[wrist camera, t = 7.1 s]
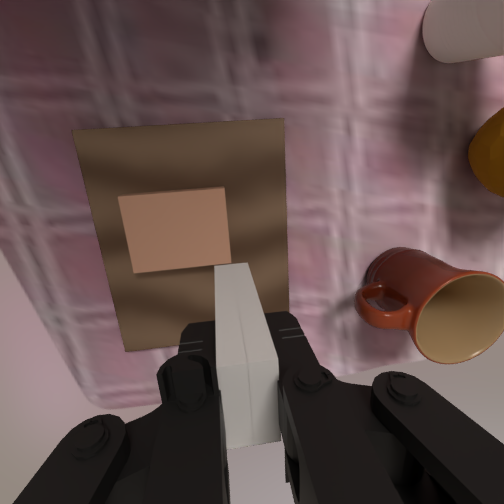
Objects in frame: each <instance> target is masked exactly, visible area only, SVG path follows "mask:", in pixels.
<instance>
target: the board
mask: <svg viewBox="0 0 504 504" xmlns="http://www.w3.org/2000/svg"><path fill="white" fill-rule="evenodd" d="M72 135H73V139H74V143H75V147H76V151H77V155H78V159H79V163H80V167H81V171H82V176H83V180H84V184H85V188H86V192H87V196H88V200H89V204H90V208H91V212H92V217H93V221H94V225H95V229H96V233H97V237H98V241H99V245H100V249H101V253H102V258H103V262H104V266H105V270H106V274H107V278H108V282H109V286H110V290H111V295H112V299H113V303H114V307H115V311H116V315H117V319H118V323H119V327H120V331H121V336H122V340H123V344H124V348H125V352H129V351H137V350H144V349H152V348H160V347H167V346H175V345H180V337H181V332H182V331H183V330H184V329H185V327H186V326H187V325H188V324H189V323H196V322H205V321H213V320H215V271H214V266H217V265H208V266H199V267H189V268H180V269H170V270H161V271H152V272H142V273H134V272H133V267H132V263H131V258H130V253H129V248H128V244H127V239H126V234H125V229H124V225H123V220H122V215H121V210H120V206H119V201H118V196H120V195H123V194H134V193H146V192H159V191H171V190H184V189H197V188H209V187H222V186H224V188H225V199H226V209H227V220H228V231H229V242H230V252H231V263H227V264H237V263H247V262H248V265H249V269H250V272H251V275H252V278H253V281H254V284H255V287H256V291H257V294H258V297H259V300H260V303H261V306H262V309H263V313H272V312H280V311H288V312H289V281H288V244H287V206H286V169H285V132H284V118H276V119H259V120H241V121H223V122H206V123H188V124H170V125H153V126H135V127H118V128H100V129H82V130H72ZM227 264H218V265H227Z"/></svg>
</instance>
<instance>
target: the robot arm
mask: <svg viewBox="0 0 504 504" xmlns="http://www.w3.org/2000/svg"><path fill="white" fill-rule="evenodd" d="M214 271H215V320H213V321H205V322H196V323H189V324H188V325H187V326H186V327H185V329H184V330H183V331H182V332H181V337H180V345H179V349H178V355H176V356H174V357H172V358H170V359H168V360H167V361H166V362H165V363H164V364H163V365H162V366H161V367H160V369H159V370H158V372H157V374H156V375H157V380H158V385H159V390H160V395H161V400H162V404H161V405H160V406H159V407H158V408H157V409H155V410H154V411H152V412H151V413H149V414H147V415H145V416H143V417H141V418H138V419H136V420H133V421H131V422H128V423H126V424H125V423H124V422H123V421H122V420H121V418H120V417H118V416H115V415H111V414H106V415H97V416H95V417H93V418H90V419H87V420H85V421H83V422H82V423H80V424H79V425H77V426H76V427H74V428H73V429H72V430H71V431H70V432H69V433H68V434H67V435H66V436H65V437H64V438H63V439H62V440H61V441H60V443H59V444H58V445H57V447H56V448H55V449H54V450H53V452H52V453H51V454H50V456H49V457H48V458H47V460H46V461H45V462H44V464H43V465H42V466H41V467H40V469H39V470H38V471H37V473H36V474H35V475H34V477H33V478H32V479H31V480H30V482H29V483H28V485H27V486H26V487H25V488H24V490H23V491H22V492H21V493H20V495H19V496H18V498H17V499H16V500H15V501H14V503H13V504H230V489H229V472H228V463H227V450H229V449H236V448H241V447H248V446H254V445H260V444H266V443H271V442H278V441H281V433H282V438H283V442H284V446H285V473H286V474H285V476H286V483H287V482H290V485H291V489H292V494H293V498H294V502H295V504H504V444H503V443H501V442H500V441H499V440H498V439H496V438H495V437H494V436H492V435H491V434H490V433H488V432H487V431H486V430H485V429H483V428H482V427H481V426H480V425H478V424H477V423H476V422H474V421H473V420H472V419H471V418H469V417H468V416H467V415H466V414H464V413H463V412H462V411H460V410H459V409H458V408H457V407H455V406H454V405H453V404H451V403H450V402H449V401H447V400H446V399H445V398H444V397H442V396H441V395H440V394H439V393H437V392H436V391H435V390H434V389H432V388H431V387H430V386H428V385H427V384H426V383H424V382H423V381H421V380H419V379H418V378H416V377H415V376H412V375H409V374H406V373H403V372H395V371H389V372H384V373H381V374H379V375H378V376H376V377H375V379H374V381H373V384H372V386H365V385H357V384H350V383H345V382H342V381H339V380H337V379H336V378H335V376H334V375H333V374H332V373H331V372H330V371H329V370H328V369H326V368H324V367H323V366H321V365H320V364H319V362H318V360H317V358H316V356H315V354H314V352H313V350H312V348H311V346H310V344H309V342H308V340H307V338H306V336H305V335H304V332H303V330H302V329H301V327H300V325H299V323H298V321H297V319H296V317H294V316H293V315H292V314H290V313H289V312H288V311H280V312H272V313H263V309H262V306H261V303H260V300H259V297H258V294H257V291H256V287H255V284H254V281H253V278H252V275H251V272H250V269H249V265H248V262H247V263H237V264H227V265H217V266H214Z"/></svg>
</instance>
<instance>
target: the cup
mask: <svg viewBox="0 0 504 504" xmlns="http://www.w3.org/2000/svg"><path fill="white" fill-rule="evenodd" d="M423 39H424V43H425V46H426V49H427V50H428V52H429V53H430V55H431V56H432V57H433V58H434V59H436V60H438V61H439V62H443V63H457V62H464V61H469V60H475V59H483V58H489V57H495V56H501V55H504V0H431V2H430V3H429V5H428V7H427V10H426V12H425V16H424V20H423Z"/></svg>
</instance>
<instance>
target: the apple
mask: <svg viewBox="0 0 504 504" xmlns="http://www.w3.org/2000/svg"><path fill="white" fill-rule="evenodd" d="M468 159H469V162H470V166H471V168H472V170H473V172H474V174H475V176H476V177H477V179H478V180H479V181H480V182H481V183H482V184H483V185H484V186H485V187H486V188H487V189H488V190H489V191H490V192H492V193H495V194H497V195H499V196H501V197H504V108H502V109H501V110H499V111H498V112H497V113H496V114H495V115H493V116H492V117H491V118H490V119H489V120H487V121H486V123H485V124H484V125H483V126H482V127H481V128H480V129H479V130H478V132H477V134H476V135H475V137H474V138H473V140H472V142H471V143H470V145H469V151H468Z"/></svg>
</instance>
